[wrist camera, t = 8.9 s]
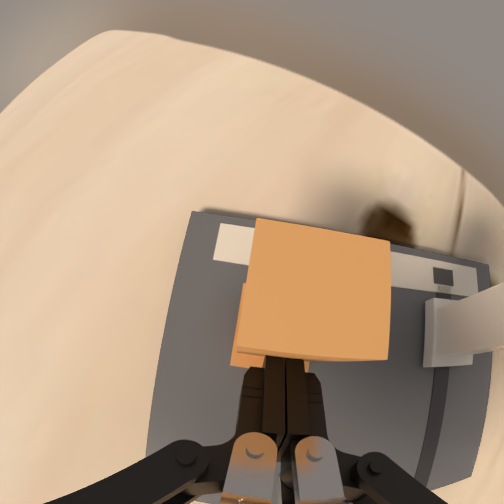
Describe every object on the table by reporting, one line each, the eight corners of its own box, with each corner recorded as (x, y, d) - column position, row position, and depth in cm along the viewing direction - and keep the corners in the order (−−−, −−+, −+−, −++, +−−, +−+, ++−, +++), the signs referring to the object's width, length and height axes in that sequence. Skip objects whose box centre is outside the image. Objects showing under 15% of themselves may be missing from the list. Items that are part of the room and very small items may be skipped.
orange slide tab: (312, 297, 16) (395, 219, 7) (303, 374, 15) (392, 388, 6) (243, 287, 16) (250, 192, 7) (230, 364, 15) (219, 375, 6)
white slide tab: (464, 305, 16) (566, 259, 7) (463, 365, 15) (573, 345, 6) (425, 301, 16) (536, 246, 7) (422, 367, 15) (545, 351, 6)
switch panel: (481, 268, 19) (489, 264, 18) (463, 473, 12) (472, 476, 11) (193, 218, 19) (191, 209, 18) (147, 481, 13) (142, 488, 11)
